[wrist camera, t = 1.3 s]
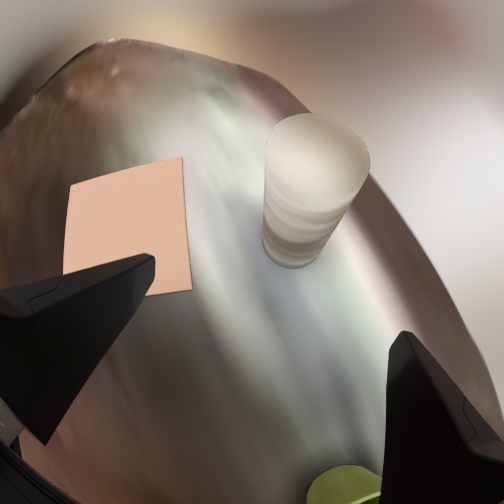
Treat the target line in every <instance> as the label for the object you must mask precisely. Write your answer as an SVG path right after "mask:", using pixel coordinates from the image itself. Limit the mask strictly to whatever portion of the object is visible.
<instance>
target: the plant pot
mask: <svg viewBox="0 0 504 504" xmlns="http://www.w3.org/2000/svg"><path fill="white" fill-rule="evenodd" d="M381 483H382V478H381V477H380V476H378V475H376V474H374V473H373V472H371V471H370V470H368V469H366V468H364V467H362V466H357V465H341V466H337V467H334V468H332V469H329V470H327V471H326V472H324V473H322V474H321V475H320V476H318V477H317V478H316V479H315V480H314V481H313V483H312V485H311V486H310V488H309V490H308V493H307V496H306V504H379V497H380V491H381Z"/></svg>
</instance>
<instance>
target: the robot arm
mask: <svg viewBox="0 0 504 504" xmlns="http://www.w3.org/2000/svg"><path fill="white" fill-rule="evenodd" d="M155 266H156V259H155V257H154V256H153V255H150V254H147V253H142V254H138V255H134V256H130V257H126V258H122V259H119V260H115V261H111V262H108V263H104V264H100V265H96V266H93V267H89V268H86V269H82V270H78V271H75V272H71V273H68V274H64V275H63V276H62V275H60V276H57V277H53V278H50V279H46V280H42V281H38V282H34V283H29V284H25V285H20V286H15V287H11V288H6V289H1V290H0V504H81V503H79V502H78V501H76V500H75V499H73V498H72V497H70V496H69V495H67V494H66V493H64V492H63V491H61V490H60V489H59V488H57V487H56V486H55V485H53V484H52V483H51V482H49V481H48V480H47V479H46V478H44V477H43V476H42V475H40V474H39V473H38V472H37V471H36V470H34V469H33V468H32V467H31V466H30V465H29V464H27V463H26V462H25V461H24V460H23V459H22V455H21V449H20V443H19V436H18V435H19V434H20V432H21V431H22V430H23V428H24V429H25V430H26V431H27V432H28V433H30V434H31V435H32V436H33V437H34V438H35V439H37V440H38V441H39V442H40V443H42V444H43V445H44V446H45V445H46V444H47V443H48V441H49V440H50V438H51V436H52V435H53V433H54V431H55V430H56V428H57V426H58V425H59V423H60V422H61V420H62V418H63V417H64V415H65V414H66V412H67V410H68V409H69V407H70V406H71V404H72V403H73V400H74V399H75V398H76V396H77V395H78V393H79V392H80V390H81V389H82V387H83V386H84V384H85V383H86V381H87V380H88V378H89V377H90V375H91V374H92V372H93V371H94V369H95V368H96V367H97V365H98V364H99V362H100V361H101V359H102V358H103V356H104V355H105V354H106V352H107V351H108V349H109V348H110V347H111V345H112V344H113V342H114V341H115V340H116V338H117V337H118V335H119V334H120V333H121V331H122V330H123V329H124V327H125V326H126V324H127V323H128V322H129V320H130V319H131V318H132V316H133V315H134V313H135V312H136V310H137V309H138V307H139V305H140V304H141V302H142V300H143V298H144V297H145V295H146V293H147V292H148V290H149V288H150V287H151V285H152V283H153V282H154V279H155ZM379 504H504V442H503V441H502V440H501V438H500V437H499V436H498V435H497V434H496V432H495V431H494V430H493V429H492V428H491V427H490V425H489V424H488V423H487V422H486V421H485V420H484V418H483V417H482V416H481V415H480V414H479V413H478V411H477V410H476V409H475V408H474V406H473V405H472V404H471V403H470V401H469V400H468V399H467V397H466V396H464V394H463V392H462V391H461V390H460V389H459V387H458V386H457V385H456V384H455V382H454V381H453V380H452V379H451V377H450V376H449V375H448V374H447V373H446V371H445V370H444V369H443V368H442V366H441V365H440V364H439V363H438V362H437V361H436V359H435V358H434V357H433V356H432V355H431V353H430V352H429V351H428V350H427V349H426V348H425V346H424V345H423V344H422V343H421V342H420V341H419V340H418V338H417V337H416V336H415V335H414V334H413V333H412V332H408V331H401V332H400V333H399V335H398V336H397V338H396V339H395V341H394V342H393V344H392V345H391V347H390V350H389V359H388V373H387V385H386V433H385V450H384V463H383V474H382V483H381V491H380V497H379Z"/></svg>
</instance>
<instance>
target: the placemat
mask: <svg viewBox="0 0 504 504" xmlns="http://www.w3.org/2000/svg"><path fill="white" fill-rule="evenodd" d="M142 253H147V254H150V255H153V256H154V257H155V259H156V266H155V279H154V282H153V283H152V285H151V287H150V288H149V290H148V292H147V293H146V295H145V296H151V295H159V294H166V293H173V292H180V291H187V290H193V287H192V278H191V269H190V259H189V249H188V238H187V227H186V214H185V201H184V185H183V166H182V157H177V158H172V159H167V160H163V161H158V162H154V163H150V164H146V165H141V166H137V167H133V168H130V169H126V170H122V171H118V172H115V173H111V174H107V175H104V176H101V177H97V178H94V179H90V180H87V181H84V182H81V183H78V184H75V185H72V186H71V190H70V196H69V204H68V212H67V221H66V232H65V245H64V267H63V275H64V274H68V273H71V272H75V271H78V270H82V269H86V268H89V267H93V266H96V265H100V264H104V263H108V262H111V261H115V260H119V259H122V258H126V257H130V256H134V255H138V254H142Z"/></svg>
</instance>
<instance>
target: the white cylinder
mask: <svg viewBox="0 0 504 504" xmlns="http://www.w3.org/2000/svg"><path fill="white" fill-rule="evenodd" d="M369 169H370V156H369V152H368V150H367V147H366V145H365V143H364V142H363V140H362V139H361V137H360V136H359V135H358V134H357V133H356V132H355V131H354V130H353V129H352V128H350V127H349V126H348V125H346V124H345V123H343V122H341V121H339V120H337V119H335V118H332V117H330V116H326V115H321V114H314V113H304V114H297V115H293V116H290V117H288V118H285V119H283V120H282V121H280V122H279V123H278V124H276V125H275V126H274V127H273V129H272V130H271V131H270V133H269V135H268V137H267V140H266V148H265V182H264V213H263V246H264V249H265V251H266V253H267V255H268V256H269V257H270V259H271V260H272V261H274V262H275V263H277V264H278V265H280V266H283V267H286V268H301V267H304V266H306V265H308V264H310V263H311V262H313V261H314V260H315V259H316V257H317V256H318V254H319V253H320V251H321V250H322V248H323V247H324V245H325V244H326V242H327V241H328V239H329V238H330V236H331V234H332V233H333V231H334V230H335V228H336V227H337V225H338V223H339V222H340V220H341V219H342V217H343V216H344V214H345V212H346V211H347V209H348V208H349V206H350V204H351V203H352V201H353V199H354V198H355V196H356V195H357V193H358V191H359V190H360V188H361V186H362V185H363V183H364V181H365V180H366V178H367V176H368V173H369Z"/></svg>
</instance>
